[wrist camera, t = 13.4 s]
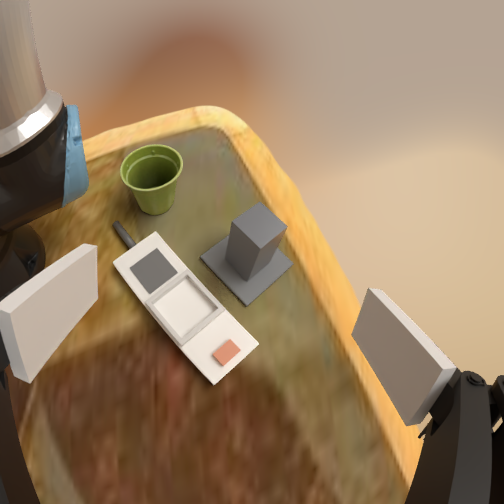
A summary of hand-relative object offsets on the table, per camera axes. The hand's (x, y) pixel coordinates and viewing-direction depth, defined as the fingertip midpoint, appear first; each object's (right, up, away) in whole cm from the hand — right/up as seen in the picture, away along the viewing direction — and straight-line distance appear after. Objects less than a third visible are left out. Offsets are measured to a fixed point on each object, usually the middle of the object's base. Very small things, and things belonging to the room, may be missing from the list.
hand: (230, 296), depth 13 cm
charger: (0, +1, +31) cm, 31 cm away
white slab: (-11, -4, +27) cm, 29 cm away
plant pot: (-15, +10, +34) cm, 38 cm away
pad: (0, +1, +31) cm, 31 cm away
